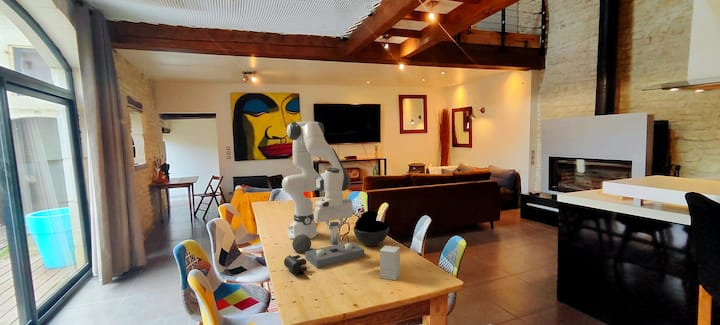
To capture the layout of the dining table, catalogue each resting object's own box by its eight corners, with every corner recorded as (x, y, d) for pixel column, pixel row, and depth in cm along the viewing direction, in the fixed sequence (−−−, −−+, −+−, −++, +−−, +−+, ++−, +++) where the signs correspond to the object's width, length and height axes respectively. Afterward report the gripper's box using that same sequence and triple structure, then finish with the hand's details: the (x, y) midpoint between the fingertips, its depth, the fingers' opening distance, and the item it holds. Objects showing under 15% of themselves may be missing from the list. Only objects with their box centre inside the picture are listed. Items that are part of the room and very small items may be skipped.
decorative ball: (297, 249, 182) (296, 231, 181) (314, 250, 180) (313, 232, 179) (289, 255, 172) (288, 237, 171) (307, 256, 170) (307, 238, 169)
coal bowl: (381, 237, 200) (380, 207, 198) (394, 248, 181) (394, 214, 179) (349, 241, 194) (349, 210, 192) (360, 252, 175) (359, 218, 173)
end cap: (284, 270, 154) (283, 256, 153) (298, 266, 158) (297, 253, 157) (292, 277, 145) (292, 263, 145) (307, 273, 150) (306, 259, 149)
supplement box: (400, 274, 148) (400, 246, 147) (395, 280, 141) (395, 252, 140) (385, 271, 151) (385, 244, 150) (379, 278, 144) (379, 250, 143)
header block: (305, 261, 164) (305, 248, 163) (350, 250, 178) (350, 239, 177) (317, 271, 152) (316, 257, 152) (364, 259, 166) (364, 246, 165)
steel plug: (328, 243, 165) (328, 222, 164) (336, 241, 167) (336, 221, 166) (332, 245, 161) (332, 224, 160) (340, 244, 164) (340, 223, 163)
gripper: (348, 197, 170) (349, 223, 172) (312, 202, 160) (313, 229, 161) (355, 199, 165) (355, 226, 166) (317, 204, 154) (318, 233, 156)
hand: (334, 228), depth 164 cm, fingers closed on steel plug, 4 cm apart
